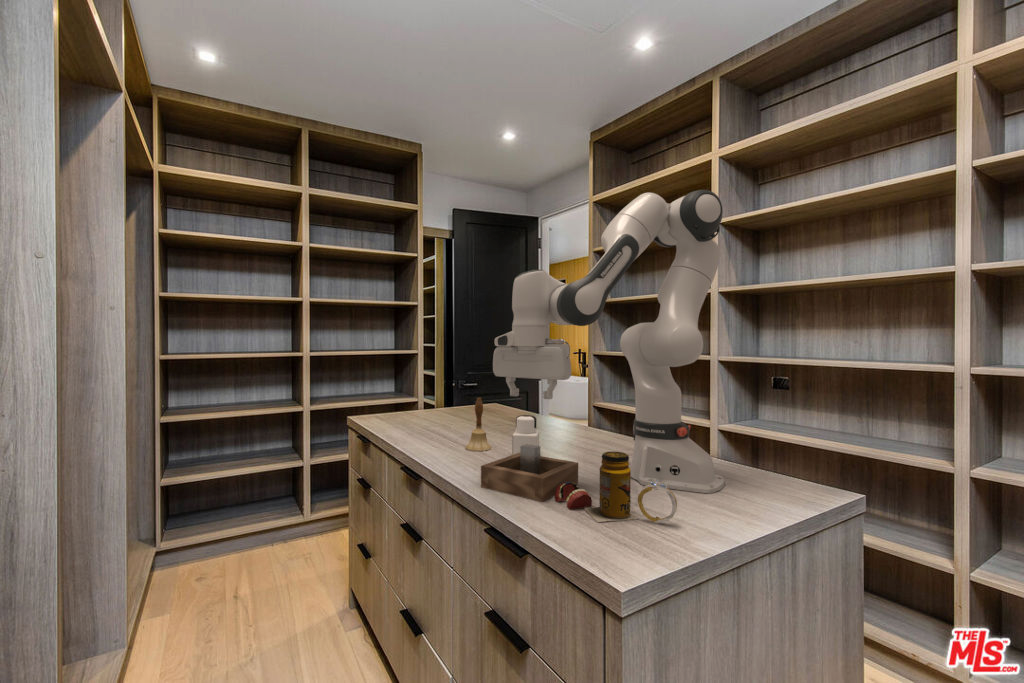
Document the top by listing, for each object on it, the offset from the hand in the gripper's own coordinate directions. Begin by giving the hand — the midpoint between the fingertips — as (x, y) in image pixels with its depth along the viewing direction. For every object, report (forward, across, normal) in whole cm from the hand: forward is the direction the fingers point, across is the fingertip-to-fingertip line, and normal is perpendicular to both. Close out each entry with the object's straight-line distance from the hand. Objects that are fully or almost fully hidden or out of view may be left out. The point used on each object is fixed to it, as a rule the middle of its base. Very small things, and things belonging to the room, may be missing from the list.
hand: (530, 397), depth 113 cm
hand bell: (+21, +34, -22) cm, 46 cm away
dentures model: (+21, -14, +5) cm, 26 cm away
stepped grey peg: (+20, 0, 0) cm, 21 cm away
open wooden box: (+21, 0, 0) cm, 21 cm away
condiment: (+21, -23, +6) cm, 32 cm away
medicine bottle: (+21, +16, -22) cm, 34 cm away
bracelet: (+21, -32, +5) cm, 39 cm away
